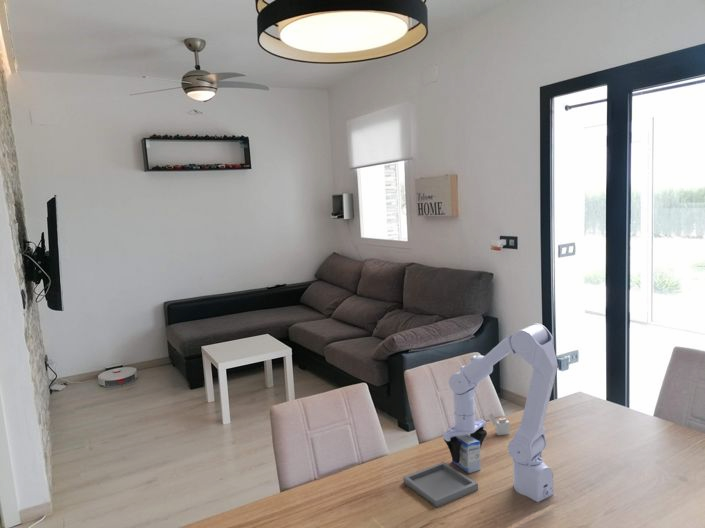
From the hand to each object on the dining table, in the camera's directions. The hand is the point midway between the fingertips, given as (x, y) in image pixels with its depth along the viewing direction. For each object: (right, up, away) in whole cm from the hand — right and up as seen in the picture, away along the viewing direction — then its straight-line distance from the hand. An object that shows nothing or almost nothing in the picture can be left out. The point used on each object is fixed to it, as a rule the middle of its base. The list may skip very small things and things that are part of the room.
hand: (466, 457), depth 144 cm
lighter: (+15, 0, +18) cm, 23 cm away
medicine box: (0, -3, 0) cm, 3 cm away
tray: (-9, -4, -10) cm, 14 cm away
